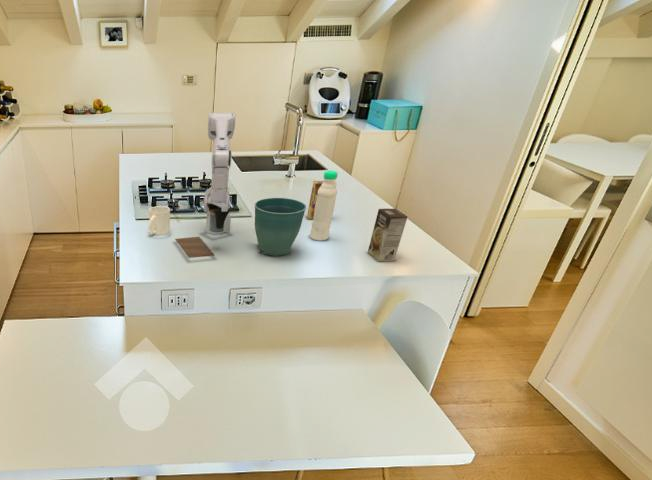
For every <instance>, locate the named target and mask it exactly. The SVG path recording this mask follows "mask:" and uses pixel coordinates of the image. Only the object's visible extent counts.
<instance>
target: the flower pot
mask: <svg viewBox="0 0 652 480" xmlns="http://www.w3.org/2000/svg"><path fill="white" fill-rule="evenodd" d="M306 210H307V204H305V202H303V201H300V200H297V199H293V198H288V197H268V198H262V199H259V200H257V201H256V202H255V203H254V232H255V236H256V240H257V247H258V249H259V250H260V251H259V253H262V254H264V255H267V256H285V255H287V254H289V253H290V252H291V250H292V247H293V245H294V242H295V241H296V239H297V237H298V235H299V233H300V230H301V227H302V224H303V219H304V216H305V212H306Z"/></svg>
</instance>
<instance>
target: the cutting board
mask: <svg viewBox="0 0 652 480" xmlns="http://www.w3.org/2000/svg"><path fill="white" fill-rule="evenodd" d="M174 239H175V241H176V243H177V244H178V245H179V247H180V248H181V250H182V251H183V252H184V254H185V255H186V256H187V258H188V259H192V258H193V259H194V258H202V257H204V258H205V257H214V256H215V253H214V252H213V251H212V250H211V249H210V247H209V246H208V245H207V244H206V243H205V242H204V241H203V238H201V236H191V237H181V238H179V237H178V238H174Z"/></svg>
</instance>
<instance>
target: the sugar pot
mask: <svg viewBox="0 0 652 480" xmlns="http://www.w3.org/2000/svg"><path fill="white" fill-rule="evenodd" d="M209 231H211V232H223V231H224V225H223V228H222V229H217V228H216V218H215V213H214V211H213V210H211V211H210V223H209Z"/></svg>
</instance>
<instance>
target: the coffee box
mask: <svg viewBox="0 0 652 480" xmlns="http://www.w3.org/2000/svg"><path fill="white" fill-rule="evenodd" d="M407 220H408V216H407V215H406V214H404V213H403V212H401V211H400V210H398V209H396V208H378V210H377V214H376V218H375V222H374V226H373V230H372V234H371V238H370V241H369V246H368V250H367V253H368V254H369V255H370V256H372V257H373V259H375V260H376V261H377V262H395V259H396V257H397V253H398V250H399V247H400V243H401V240H402V237H403V233H404V230H405V227H406V223H407Z"/></svg>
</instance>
